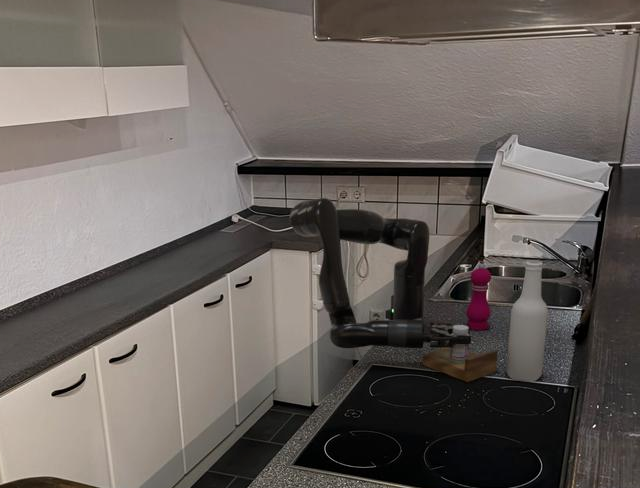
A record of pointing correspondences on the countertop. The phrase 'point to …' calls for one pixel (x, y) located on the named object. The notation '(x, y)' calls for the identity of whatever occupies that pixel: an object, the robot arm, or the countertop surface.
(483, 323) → the pepper mill
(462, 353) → the pill bottle
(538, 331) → the alcohol
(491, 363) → the wooden box
